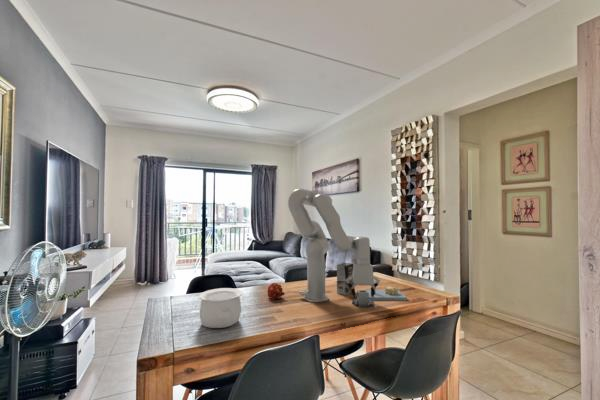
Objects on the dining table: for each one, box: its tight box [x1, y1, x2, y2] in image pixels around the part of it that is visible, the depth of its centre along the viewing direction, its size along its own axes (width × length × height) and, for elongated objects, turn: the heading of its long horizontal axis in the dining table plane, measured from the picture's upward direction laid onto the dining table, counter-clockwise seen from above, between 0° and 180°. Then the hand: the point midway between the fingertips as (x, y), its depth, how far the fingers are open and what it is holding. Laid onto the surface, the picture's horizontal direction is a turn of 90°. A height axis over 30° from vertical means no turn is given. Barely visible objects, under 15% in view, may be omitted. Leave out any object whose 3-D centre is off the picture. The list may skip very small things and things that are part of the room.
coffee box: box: [336, 262, 354, 296], centre depth 161 cm, size 9×6×16 cm
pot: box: [198, 287, 243, 329], centre depth 118 cm, size 22×17×12 cm
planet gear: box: [351, 289, 375, 309], centre depth 141 cm, size 11×11×6 cm
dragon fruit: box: [267, 282, 286, 301], centre depth 151 cm, size 8×8×12 cm
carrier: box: [366, 280, 408, 301], centre depth 154 cm, size 20×14×8 cm
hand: (363, 296), depth 141 cm, fingers open, 8 cm apart
